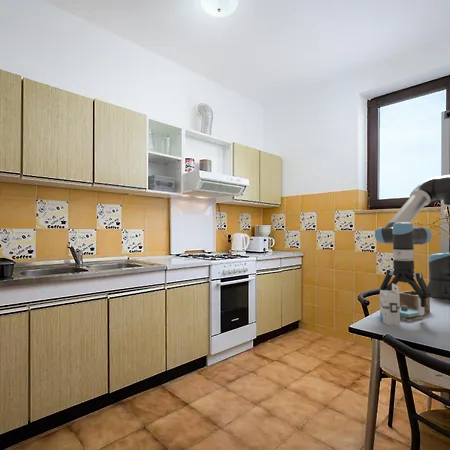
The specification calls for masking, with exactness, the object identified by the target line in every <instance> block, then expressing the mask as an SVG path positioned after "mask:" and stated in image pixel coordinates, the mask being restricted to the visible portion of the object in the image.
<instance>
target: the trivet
mask: <svg viewBox="0 0 450 450" xmlns="http://www.w3.org/2000/svg"><path fill="white" fill-rule="evenodd" d="M418 319H423V316H422V315H417V316H414V317H410V318H401V317H400V320H404V321H408V322H411V321H414V320H418Z"/></svg>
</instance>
